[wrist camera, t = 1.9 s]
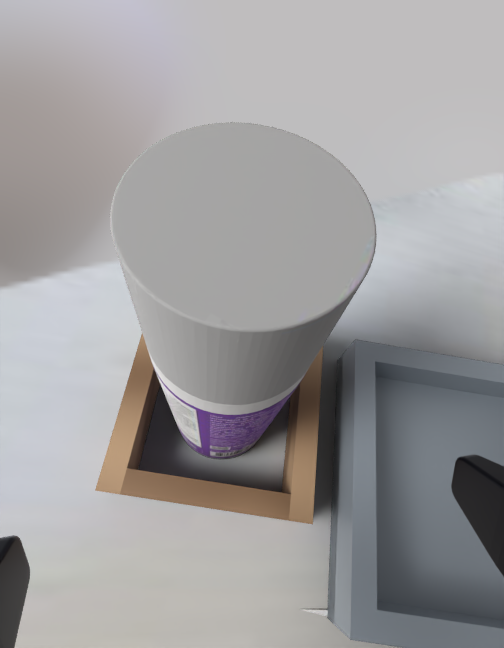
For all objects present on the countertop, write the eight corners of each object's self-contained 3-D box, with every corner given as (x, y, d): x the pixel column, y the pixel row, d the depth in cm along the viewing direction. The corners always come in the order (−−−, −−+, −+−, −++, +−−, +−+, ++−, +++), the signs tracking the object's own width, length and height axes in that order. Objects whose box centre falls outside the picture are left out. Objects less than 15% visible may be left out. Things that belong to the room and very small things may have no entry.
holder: (299, 522, 18) (312, 523, 16) (109, 492, 18) (95, 490, 15) (312, 347, 22) (324, 329, 20) (157, 321, 22) (152, 300, 19)
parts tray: (594, 657, 17) (667, 686, 14) (327, 617, 16) (350, 639, 14) (539, 394, 22) (585, 378, 19) (337, 360, 22) (355, 339, 19)
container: (275, 383, 21) (397, 155, 7) (253, 471, 19) (366, 379, 5) (193, 359, 21) (165, 91, 7) (162, 444, 19) (43, 286, 5)
